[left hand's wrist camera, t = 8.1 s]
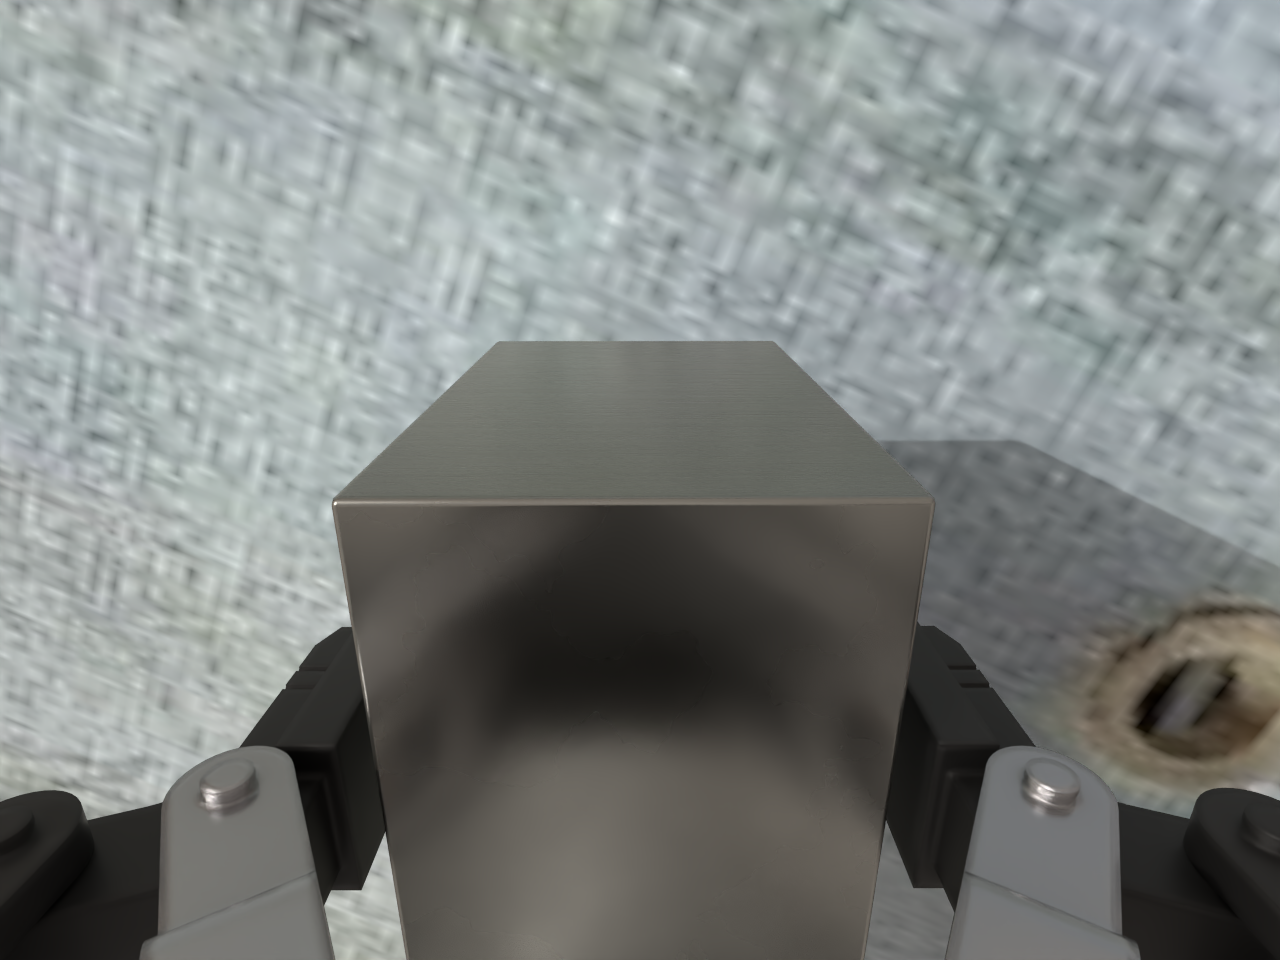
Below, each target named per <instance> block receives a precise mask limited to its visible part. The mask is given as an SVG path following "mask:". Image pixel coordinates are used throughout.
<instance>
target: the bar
mask: <svg viewBox="0 0 1280 960" xmlns="http://www.w3.org/2000/svg"><path fill="white" fill-rule="evenodd" d="M332 510H333V516H334V522H335V528H336V534H337V540H338V546H339V552H340V558H341V564H342V570H343V576H344V583H345V589H346V595H347V601H348V607H349V613H350V619H351V625H352V631H353V637H354V643H355V649H356V655H357V661H358V668H359V674H360V680H361V686H362V692H363V698H364V704H365V710H366V716H367V722H368V728H369V734H370V740H371V746H372V753H373V759H374V765H375V771H376V777H377V783H378V789H379V795H380V801H381V807H382V813H383V819H384V825H385V831H386V838H387V844H388V850H389V856H390V862H391V868H392V874H393V880H394V886H395V892H396V898H397V904H398V910H399V916H400V923H401V929H402V935H403V941H404V947H405V953H406V959H407V960H864V956H865V950H866V943H867V937H868V931H869V924H870V918H871V912H872V905H873V899H874V892H875V886H876V880H877V873H878V867H879V861H880V854H881V848H882V841H883V835H884V829H885V822H886V816H887V810H888V803H889V797H890V790H891V784H892V778H893V771H894V765H895V759H896V752H897V746H898V739H899V733H900V727H901V720H902V714H903V707H904V701H905V695H906V688H907V682H908V676H909V669H910V663H911V656H912V650H913V644H914V637H915V631H916V625H917V618H918V612H919V605H920V599H921V593H922V586H923V580H924V574H925V567H926V561H927V554H928V548H929V542H930V535H931V529H932V523H933V516H934V510H935V500H934V497H933V496H932V495H931V494H930V493H929V492H928V491H927V490H926V489H924V488H923V487H922V486H921V485H920V484H919V483H918V482H917V481H916V480H915V479H914V478H913V477H912V476H911V475H910V474H909V473H908V472H907V471H906V470H905V469H904V468H903V467H902V466H901V465H900V464H899V463H898V462H897V461H896V460H895V459H894V458H893V457H892V456H891V455H890V454H889V453H888V452H887V451H886V450H885V449H884V448H882V447H881V446H880V445H879V444H878V443H877V442H876V441H875V440H874V439H873V438H872V437H871V436H870V435H869V434H868V433H867V432H866V431H865V430H864V429H863V428H862V427H861V426H860V425H859V424H858V423H857V422H856V421H855V420H854V419H853V418H852V417H851V416H850V415H849V414H848V413H847V412H846V411H845V410H844V409H843V408H841V407H840V406H839V405H838V404H837V403H836V402H835V401H834V400H833V399H832V398H831V397H830V396H829V395H828V394H827V393H826V392H825V391H824V390H823V389H822V388H821V387H820V386H819V385H818V384H817V383H816V382H815V381H814V380H813V379H812V378H811V377H810V376H809V375H808V374H807V373H806V372H805V371H804V370H803V369H802V368H801V367H799V366H798V365H797V364H796V363H795V362H794V361H793V360H792V359H791V358H790V357H789V356H788V355H787V354H786V353H785V352H784V351H783V350H782V349H781V348H780V347H779V346H778V345H777V344H776V343H775V342H773V341H499V342H497V343H496V344H495V345H494V346H493V347H492V348H491V349H490V350H489V351H488V352H487V353H485V354H484V355H483V356H482V357H481V358H480V359H479V360H478V361H477V362H476V363H475V364H474V365H473V366H472V367H471V368H470V369H469V370H468V371H467V372H466V373H464V374H463V375H462V376H461V377H460V378H459V379H458V380H457V381H456V382H455V383H454V384H453V385H452V386H451V387H450V388H449V389H448V390H447V391H446V392H445V393H444V394H442V395H441V396H440V397H439V398H438V399H437V400H436V401H435V402H434V403H433V404H432V405H431V406H430V407H429V408H428V409H427V410H426V411H425V412H424V413H423V414H422V415H420V416H419V417H418V418H417V419H416V420H415V421H414V422H413V423H412V424H411V425H410V426H409V427H408V428H407V429H406V430H405V431H404V432H403V433H402V434H401V435H399V436H398V437H397V438H396V439H395V440H394V441H393V442H392V443H391V444H390V445H389V446H388V447H387V448H386V449H385V450H384V451H383V452H382V453H381V454H380V455H379V456H377V457H376V458H375V459H374V460H373V461H372V462H371V463H370V464H369V465H368V466H367V467H366V468H365V469H364V470H363V471H362V472H361V473H360V474H359V475H358V476H356V477H355V478H354V479H353V480H352V481H351V482H350V483H349V484H348V485H347V486H346V487H345V488H344V489H343V490H342V491H341V492H340V493H339V494H338V495H337V496H336V497H334V498H333V502H332Z"/></svg>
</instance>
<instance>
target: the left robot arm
mask: <svg viewBox="0 0 1280 960" xmlns="http://www.w3.org/2000/svg"><path fill="white" fill-rule="evenodd" d="M886 821H887V823H888V826H889V828H890V831H891V833H892V836H893V838H894V841H895V843H896V846H897V848H898V850H899V853H900V855H901V858H902V860H903V863H904V865H905V868H906V870H907V873H908V875H909V878H910V880H911V883H912V885H913V888H944V890H945V892H946V894H947V897H948V899H949V901H950V903H951V906H952V908H953V910H954V912H955V913H954V918H953V923H952V927H951V932H950V937H949V942H948V947H947V951H946V956H945V960H1280V801H1279V800H1277V799H1274V798H1272V797H1269V796H1266V795H1263V794H1259V793H1256V792H1252V791H1248V790H1242V789H1235V788H1217V789H1211V790H1208V791H1206V792H1204V793H1202V794H1201V795H1200V796H1199V797H1198V799H1197V800H1196V803H1195V806H1194V809H1193V812H1192V815H1191V817H1190V819H1187V818H1183V817H1178V816H1174V815H1170V814H1165V813H1161V812H1157V811H1152V810H1148V809H1144V808H1139V807H1135V806H1131V805H1126V804H1123V803H1119V802H1117V801H1116V798H1115V796H1114V794H1113V793H1112V791H1111V790H1110V788H1109V787H1108V786H1107V785H1106V784H1105V782H1104V781H1103V780H1102V779H1101V778H1100V777H1098V776H1097V775H1096V774H1095V773H1094V772H1092V771H1091V770H1090V769H1088V768H1087V767H1085V766H1084V765H1082V764H1080V763H1079V762H1077V761H1075V760H1073V759H1071V758H1069V757H1067V756H1065V755H1062V754H1059V753H1057V752H1054V751H1051V750H1047V749H1043V748H1038V747H1036V746H1035V745H1034V744H1033V742H1032V741H1031V740H1030V738H1029V737H1028V735H1027V734H1026V733H1025V731H1024V730H1023V729H1022V727H1021V726H1020V725H1019V723H1018V722H1017V721H1016V719H1015V718H1014V716H1013V715H1012V714H1011V712H1010V711H1009V710H1008V708H1007V707H1006V706H1005V704H1004V703H1003V701H1002V700H1001V699H1000V697H999V696H998V695H997V693H996V692H995V691H994V689H993V688H990V687H989V682H988V681H987V680H986V678H985V677H984V676H983V674H982V673H981V672H980V670H976V665H975V663H974V662H973V661H972V659H971V658H970V657H969V655H968V654H967V653H966V651H965V650H964V648H963V647H962V646H961V644H959V643H958V642H956V641H955V640H954V639H952V638H951V637H949V636H948V635H946V634H945V633H943V632H942V631H941V630H939V629H938V628H936V627H935V626H920V625H919V623H918V622H917V625H916V631H915V637H914V644H913V650H912V656H911V663H910V669H909V676H908V682H907V688H906V695H905V701H904V707H903V714H902V720H901V727H900V733H899V739H898V746H897V752H896V759H895V765H894V771H893V778H892V784H891V790H890V797H889V803H888V810H887V816H886ZM384 834H385V825H384V819H383V813H382V807H381V801H380V795H379V789H378V783H377V777H376V771H375V765H374V759H373V753H372V746H371V740H370V734H369V728H368V722H367V716H366V710H365V704H364V698H363V692H362V686H361V680H360V674H359V668H358V661H357V655H356V649H355V643H354V637H353V631H352V627H341V628H340V629H338V630H337V631H335V632H334V633H333V634H331V635H330V636H328V637H327V638H325V639H324V640H322V641H321V642H319V643H318V644H317V645H315V646H314V648H313V649H312V650H311V652H310V653H309V654H308V656H307V657H306V659H305V660H304V661H303V663H302V664H301V665H300V667H299V671H296V672H295V673H294V675H293V676H292V677H291V679H290V680H289V681H288V683H287V684H286V689H282V691H281V692H280V694H279V695H278V696H277V698H276V699H275V700H274V702H273V703H272V704H271V706H270V707H269V708H268V710H267V711H266V712H265V714H264V715H263V716H262V718H261V719H260V720H259V722H258V723H257V724H256V726H255V727H254V728H253V730H252V731H251V733H250V734H249V735H248V737H247V738H246V739H245V741H244V742H243V743H242V745H241V746H240V747H239V748H237V749H233V750H229V751H226V752H223V753H221V754H218V755H215V756H213V757H211V758H209V759H207V760H205V761H203V762H201V763H200V764H198V765H196V766H195V767H193V768H192V769H190V770H189V771H188V772H186V773H185V774H184V775H183V776H182V777H180V778H179V779H178V780H177V781H176V782H175V784H174V785H173V786H172V787H171V788H170V790H169V791H168V793H167V794H166V796H165V798H164V801H163V802H162V803H159V804H155V805H152V806H148V807H144V808H139V809H135V810H131V811H126V812H122V813H118V814H113V815H109V816H105V817H100V818H96V819H92V820H87V819H86V816H85V813H84V810H83V808H82V805H81V802H80V801H79V799H78V798H77V797H76V796H74V795H73V794H71V793H68V792H64V791H56V790H49V791H38V792H32V793H28V794H23V795H19V796H16V797H13V798H10V799H7V800H4V801H2V802H0V960H335V956H334V951H333V947H332V942H331V937H330V932H329V927H328V923H327V918H326V913H325V909H324V905H325V902H326V900H327V898H328V896H329V893H330V891H331V890H362V887H363V885H364V882H365V880H366V878H367V875H368V873H369V870H370V868H371V865H372V863H373V860H374V858H375V856H376V853H377V851H378V848H379V846H380V843H381V841H382V838H383V836H384Z"/></svg>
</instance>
